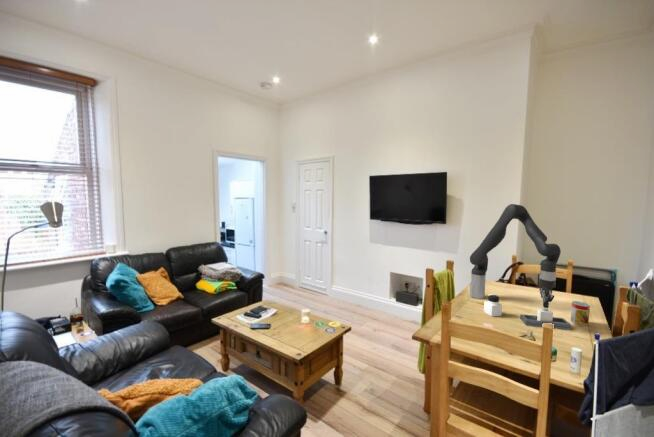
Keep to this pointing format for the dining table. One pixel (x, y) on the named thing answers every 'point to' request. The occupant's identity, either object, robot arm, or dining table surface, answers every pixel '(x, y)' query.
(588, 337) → the dining table surface
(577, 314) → the canned food
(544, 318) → the block
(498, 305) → the medicine bottle
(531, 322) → the grey rectangular tray
